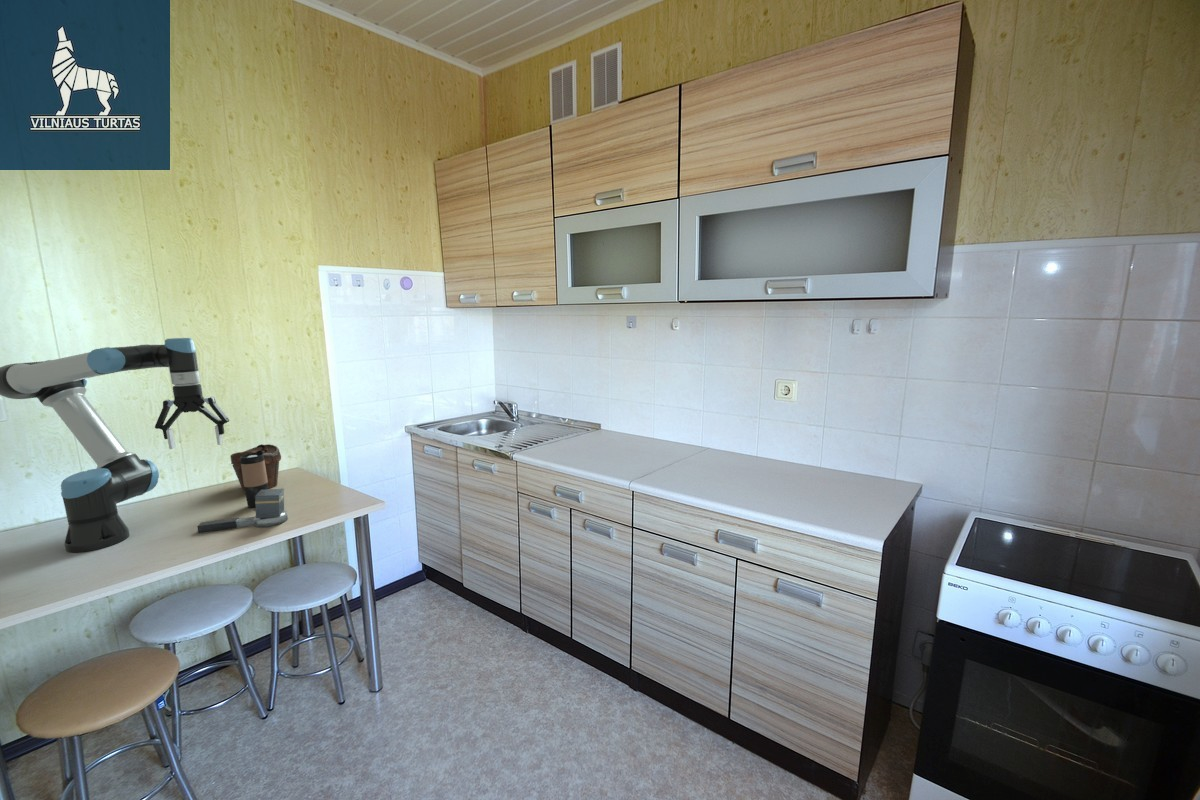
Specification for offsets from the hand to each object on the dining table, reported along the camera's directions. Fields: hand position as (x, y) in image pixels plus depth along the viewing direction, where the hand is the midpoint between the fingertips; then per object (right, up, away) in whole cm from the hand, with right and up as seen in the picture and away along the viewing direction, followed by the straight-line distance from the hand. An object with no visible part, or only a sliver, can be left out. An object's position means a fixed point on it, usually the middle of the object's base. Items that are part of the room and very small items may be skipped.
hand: (196, 446), depth 175 cm
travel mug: (+6, -25, +23) cm, 35 cm away
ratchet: (+14, -28, +4) cm, 31 cm away
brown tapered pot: (-8, -22, +46) cm, 51 cm away
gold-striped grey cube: (+21, -25, +6) cm, 33 cm away
